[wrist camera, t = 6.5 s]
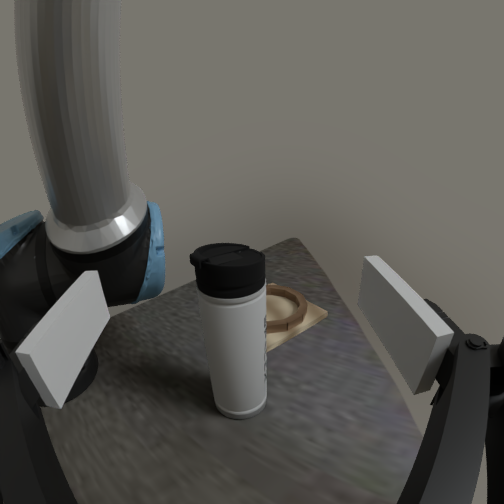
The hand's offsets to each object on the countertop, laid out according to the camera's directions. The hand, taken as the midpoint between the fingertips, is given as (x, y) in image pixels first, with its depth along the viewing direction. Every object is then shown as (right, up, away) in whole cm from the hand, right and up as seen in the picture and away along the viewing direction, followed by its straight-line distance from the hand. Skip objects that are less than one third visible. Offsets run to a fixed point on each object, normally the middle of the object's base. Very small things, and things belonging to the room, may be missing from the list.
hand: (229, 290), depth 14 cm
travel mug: (0, -16, +19) cm, 25 cm away
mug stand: (+4, -9, +36) cm, 38 cm away
